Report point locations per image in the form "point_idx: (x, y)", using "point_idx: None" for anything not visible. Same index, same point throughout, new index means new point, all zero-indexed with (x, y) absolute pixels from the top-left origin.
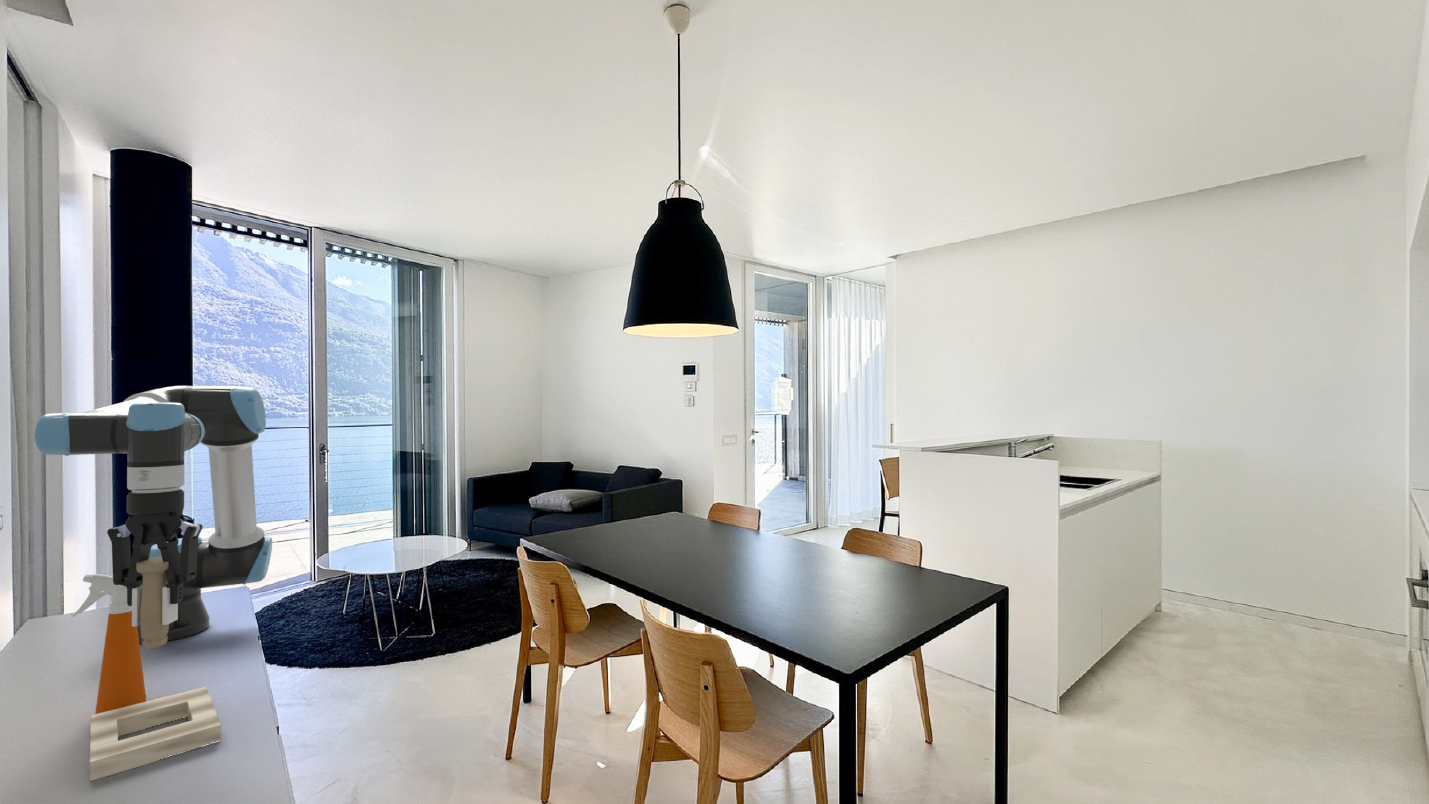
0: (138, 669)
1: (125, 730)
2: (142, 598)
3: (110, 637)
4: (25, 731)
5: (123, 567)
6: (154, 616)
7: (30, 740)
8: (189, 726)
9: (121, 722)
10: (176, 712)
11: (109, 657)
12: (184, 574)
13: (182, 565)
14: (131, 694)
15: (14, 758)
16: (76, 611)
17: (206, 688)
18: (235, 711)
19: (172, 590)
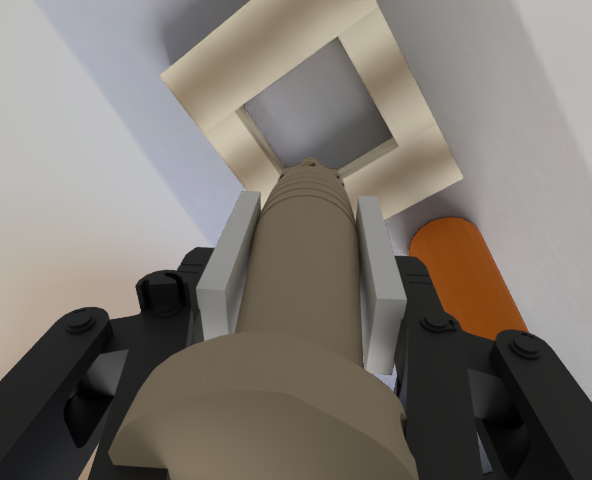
0: None
1: (382, 145)
2: (338, 255)
3: None
4: (578, 194)
5: (539, 463)
6: (280, 200)
7: (551, 154)
8: (221, 79)
9: (391, 148)
10: None
11: (496, 295)
12: (53, 345)
13: (20, 412)
14: (427, 249)
15: (546, 81)
16: None
17: None
18: (225, 198)
19: (191, 289)
